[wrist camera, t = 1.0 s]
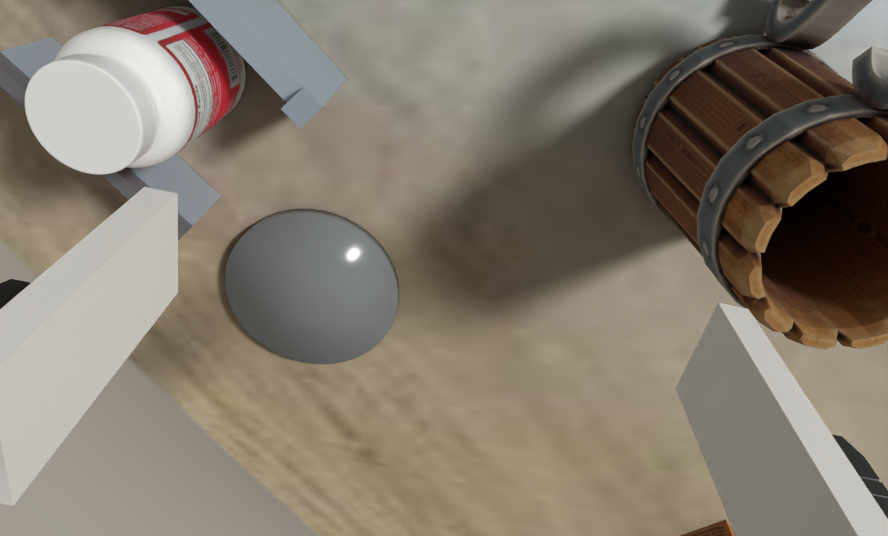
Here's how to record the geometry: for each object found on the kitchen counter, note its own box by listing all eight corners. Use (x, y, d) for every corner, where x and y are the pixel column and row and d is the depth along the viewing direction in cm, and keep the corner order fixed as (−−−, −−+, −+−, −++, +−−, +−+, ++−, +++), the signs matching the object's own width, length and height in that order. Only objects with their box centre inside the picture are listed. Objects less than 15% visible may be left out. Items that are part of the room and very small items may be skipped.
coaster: (194, 276, 42) (189, 282, 41) (311, 173, 38) (307, 178, 37) (316, 383, 45) (313, 390, 45) (434, 298, 41) (433, 305, 41)
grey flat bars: (39, 51, 35) (-54, 79, 29) (173, -115, 31) (96, -124, 25) (208, 207, 39) (157, 261, 33) (347, 78, 35) (318, 112, 29)
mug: (774, 236, 38) (927, 402, 25) (601, 199, 38) (665, 349, 24) (919, -53, 31) (1245, -32, 18) (707, -103, 30) (878, -122, 17)
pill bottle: (119, 77, 36) (-17, 135, 26) (163, -21, 33) (31, 3, 24) (219, 141, 37) (126, 219, 28) (269, 52, 35) (185, 103, 25)
